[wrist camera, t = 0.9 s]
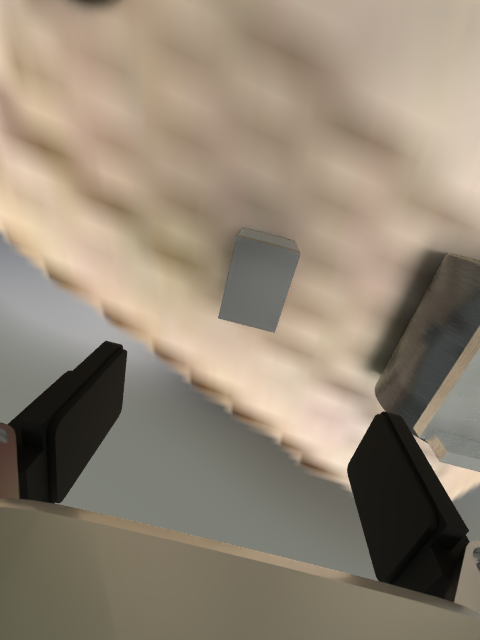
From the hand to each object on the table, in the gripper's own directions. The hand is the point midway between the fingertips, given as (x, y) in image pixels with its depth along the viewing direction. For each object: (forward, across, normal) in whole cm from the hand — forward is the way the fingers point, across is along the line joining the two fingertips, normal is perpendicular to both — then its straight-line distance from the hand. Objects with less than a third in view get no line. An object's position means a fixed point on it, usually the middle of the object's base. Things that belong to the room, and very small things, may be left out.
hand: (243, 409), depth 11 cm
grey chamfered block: (+20, 0, 0) cm, 20 cm away
